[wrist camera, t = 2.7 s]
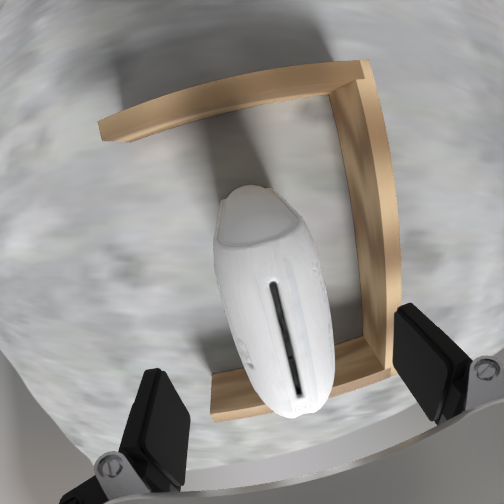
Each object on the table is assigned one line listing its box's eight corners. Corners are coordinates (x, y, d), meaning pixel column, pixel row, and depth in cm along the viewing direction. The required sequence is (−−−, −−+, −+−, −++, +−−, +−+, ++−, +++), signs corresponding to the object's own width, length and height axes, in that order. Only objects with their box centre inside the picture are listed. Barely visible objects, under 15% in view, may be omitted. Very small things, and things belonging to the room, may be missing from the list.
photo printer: (301, 303, 24) (351, 422, 12) (250, 316, 24) (265, 445, 12) (274, 177, 20) (331, 214, 8) (214, 192, 20) (189, 250, 8)
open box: (127, 126, 18) (97, 121, 13) (339, 77, 18) (368, 60, 13) (216, 382, 26) (214, 422, 21) (374, 341, 26) (396, 374, 21)
